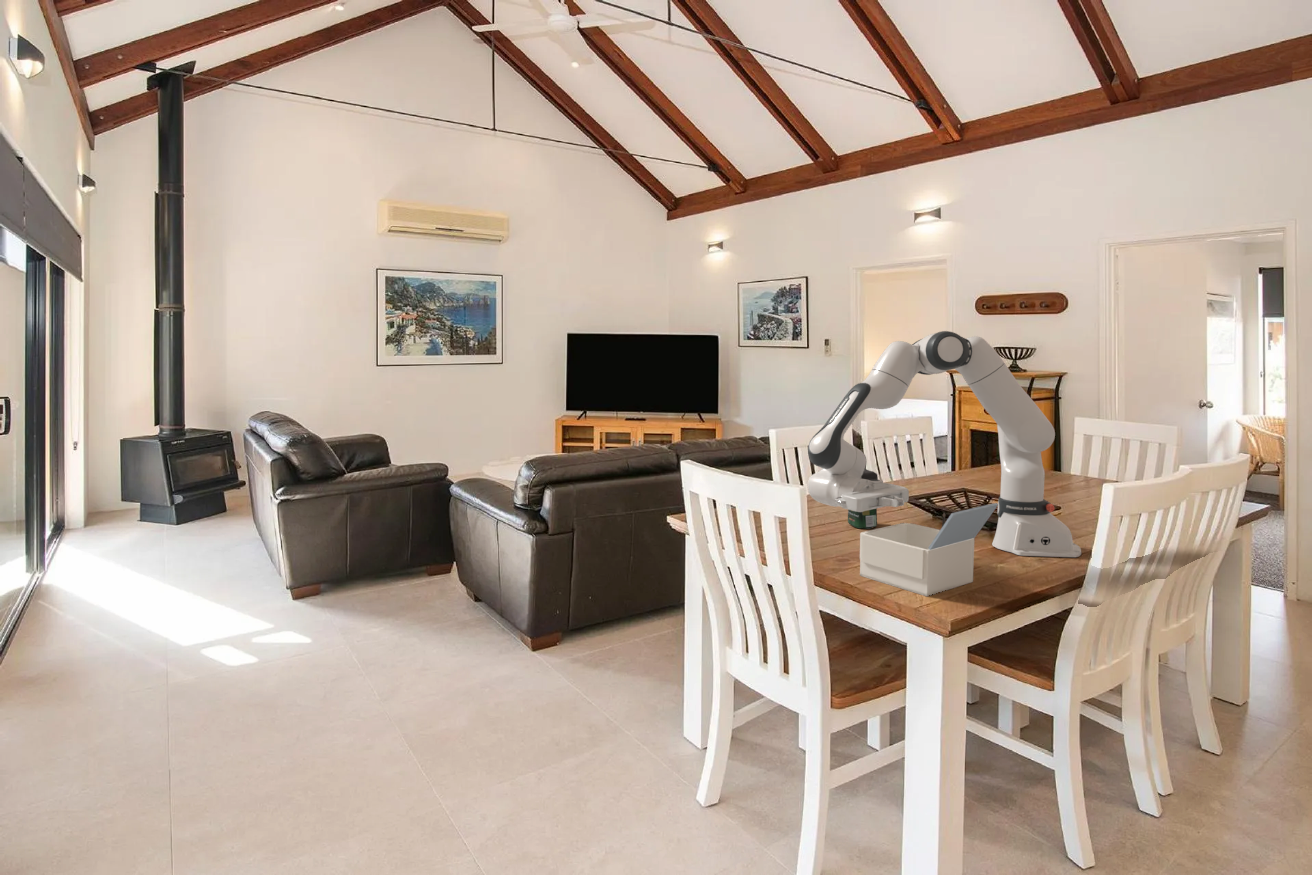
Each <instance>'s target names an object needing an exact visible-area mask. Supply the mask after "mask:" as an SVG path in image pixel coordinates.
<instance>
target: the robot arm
mask: <svg viewBox="0 0 1312 875" xmlns="http://www.w3.org/2000/svg"><path fill="white" fill-rule="evenodd" d="M952 370H955V371H957V373H959V374H960V375H961V377H963V379H964V382H965V383H966V384H967V386H968V387H969V388H970V389H971V391H972V393H973V395H975V397H976V398H977V400H978V401H979V403H980V404H981V406H982V407H983V409H984V410H985V411H986V412H987V413H988V415H990V417H991V418H992V419H993V420H994V422H995V423H996V425H997V426H996V428H997V434H998V436H997V437H998V452H999V459H1000V460H999V461H1000V472H1001V473H1000V495H999V497H998V500H997V504H998V506H997V516H998V520H997V525H996V531H995V534H994V537H993V540H992V543H991V545H992V546H993V547H995V548H996V549H998V550H1000V551H1001V550H1002V551H1005V552H1008V553H1012V554H1014V555H1017V556H1022V557H1023V556H1024V557H1053V558H1054V557H1055V558H1057V557H1058V558H1059V557H1060V558H1078V557H1080V556H1082V548H1081V547H1080V546H1079V545H1078V544H1077V543H1074V540H1073V536H1072V533H1071V530H1070V529H1069V528H1070V527H1068V526H1067V525H1066V524H1065V523H1063V521H1061V520H1060V519H1058V518H1057V517H1056V516H1055V515H1053V514H1052V512H1054V510H1055V509H1056V508H1055V506H1054V504H1052V503H1051V502H1049V501H1048V500H1046V499H1044V498H1045V497H1044V496H1045V477H1046V476H1045V475H1046V473H1045V468H1044V466H1043V465H1044V464H1043V460H1042V458H1043V457H1042V452H1044V451H1046V450H1047V449H1049V448H1050V447H1051V446H1052V444H1053V443H1054V441H1055V438H1056V437H1055V436H1056V432H1055V431H1056V430H1055V428H1054V426H1053V424H1052V423H1051V421H1050V420H1049V419H1048V418H1047V416H1046V415H1045V414H1044V413H1043V411H1042V410H1041V409H1040V407H1039V406H1038V405H1037V403H1036V402H1034V400H1033V399H1032V398H1031V397H1030V395H1029V394H1028V393H1027V392H1026V391H1025V390H1024V388H1022V386H1021V385H1020V383H1019V382H1018V381H1017V378H1015V376H1014V375H1013V373H1012V372H1011V370H1010V369H1009V367H1008V366H1007V364H1006V363H1005V361H1004V360H1003V358H1001V356H1000V355H999V353H998V352H997V351H996V350H995V349H994V347H993V346H991V345H990V343H988V342H987V340H985V339H984V338H983V337H980V336H978V335H977V336H976V335H974V336H969V337H967V338H965V337H963V336H961V335H960V334H958V333H957V332H954V331H947V330H942V331H939V332H935V333H930V334H928V335H926V336H924V337H923V338H920V339H919V340H917V341H915V342H914V343H912V344H911V343H909V342H908V341H907V342H906V341H901V340H896V341H892V342H891V343H890V344H889V345H888V346H887V347H886V348H885V349H884V351H883V352H882V353H881V355H880V356H879V357H878V359H877V361H876V362H875V364H874V365H873V367H872V369H871V370H870V372H869V374H868V375H867V377H866V378H864V380H863V381H862V382H859V383H856V384H855V385H854V386H852V387H851V389H850V390H849V391H848V392H847V393H846V395H845V396H844V397H843V398H842V400H841V401H840V402H839V404H838V406H837V407H835V410H834V411H833V412H832V414H831V415H830V416H829V418H828V419H827V421H826V422H825V423H824V425H823V426H822V427H821V428H820V429H819V430H818V431H817V432H816V433H815V434H814V435H813V436H812V438H810V439H809V440H810V441H809V442H808V445H807V446H808V447H807V456H808V460H809V461H810V463H811V464H812V465H814V466H816V467H819V468H821V469H820V470H819V471H818V472H815V473H812V475H811V476H809V477H808V481H807V490H808V494H809V496H810V497H811V498H812V499H813V501H816V502H818V503H820V504H823V505H827V506H830V507H841V508H842V509H844V510H847V511H848V510H852V511H856V512H863V511H867V510H871V509H876V508H877V509H879V508H885V507H892V508H898V507H903V506H904V505H905V503H907V502H909V493H910V492H909V488H907V487H905V486H901V485H899V484H898V485H897V484H894V483H888V482H884V480H883V479H878V480H867V479H861V478H862V476H863V473H864V471H865V469H867V468H866V467H867V457H866V454H865V453H864V452H863V451H862V450H861V449H859V448H858V447H857V446H855V445H853V444H852V443H850V442H848V441H847V440H845V439H844V437H845V434H846V433H847V431H848V430H849V429H850V427H851V426H852V424H853V422H854V421H856V420H855V419H857V417H858V416H859V414H860V413H861V412H863V411H865V410H867V409H875V410H887V409H890V408H891V409H892V408H894V407H895V406H897V405H898V404H899V403H900V402H901V401H902V400H903V398H904V396H905V394H906V392H907V390H908V389H909V387H910V384H911V383H912V381H913V379H914V378H915V376H916V375H917V374H921V375H926V376H930V375H937V374H943V373H946V372H947V371H952Z"/></svg>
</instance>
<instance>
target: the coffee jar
mask: <svg viewBox="0 0 1312 875" xmlns="http://www.w3.org/2000/svg"><path fill="white" fill-rule="evenodd" d="M878 477H879V476H878V473H877V472H875V471H871V470H869V469H867V468H865V471H864V473H863V476H862V478H861V479H867V480H879V479H878ZM847 523H848V524H849V525H851V526H852V527H854V528H857V529H865V530H869V529H871V530H872V529H874V528H876V527H877V526H878V508H876V509H871V510H867V511H863V512H856V511H852V510H848V509H847Z"/></svg>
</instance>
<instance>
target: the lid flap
mask: <svg viewBox="0 0 1312 875" xmlns="http://www.w3.org/2000/svg"><path fill="white" fill-rule="evenodd" d="M997 508H998V502H995V503H989V504H985V505H981V506H977V507H973V508H968V509H964V510H959V511H956V512H952V513H950V515H949V516H948V518H947V519H946V520H945V524H944V525H943V527H942V526H941V528H940V529H939V530H940V531H939V533H938V534H937V536H936V537H935V539H934V540H933V542H932V543H931V545H930V546H929V549H930V550H932V549H935V548H939V547H943V546H946V545H950V544H954V543H958V542H961V541H965V540H969V539H972V538H974V539H975V538H976V537H977V535H978V534H979V532H981V530H982V529H983V527H984V526H985V524H986V523H987V521H988V520H989V518H990V517H991V516H992V514H993V513H994V512H995V510H996V509H997Z"/></svg>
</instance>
